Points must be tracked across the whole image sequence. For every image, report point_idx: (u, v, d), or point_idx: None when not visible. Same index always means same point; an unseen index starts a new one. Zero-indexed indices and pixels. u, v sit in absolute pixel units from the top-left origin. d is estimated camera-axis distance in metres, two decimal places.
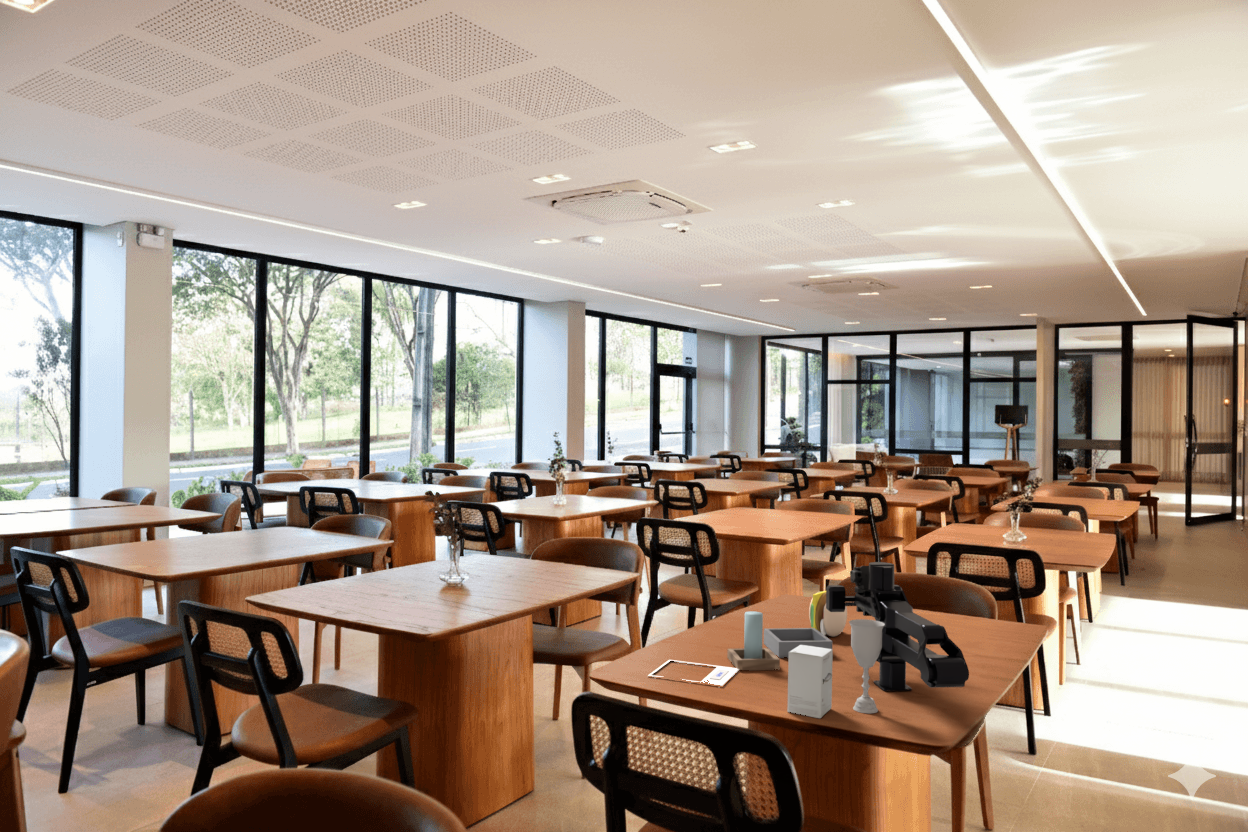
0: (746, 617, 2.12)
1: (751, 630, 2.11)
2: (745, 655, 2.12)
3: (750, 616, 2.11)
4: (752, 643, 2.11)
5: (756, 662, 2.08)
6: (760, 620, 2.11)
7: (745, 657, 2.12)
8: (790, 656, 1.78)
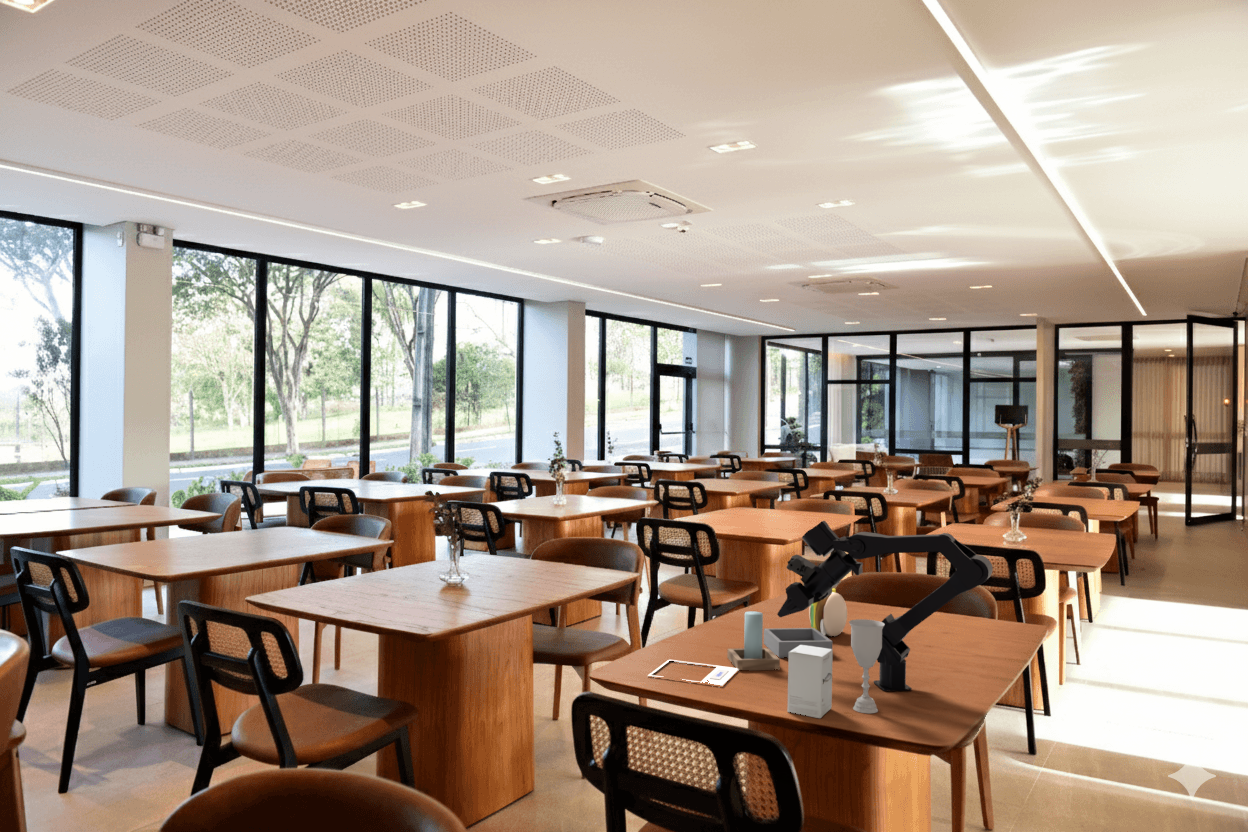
0: (746, 617, 2.12)
1: (751, 630, 2.11)
2: (745, 655, 2.12)
3: (750, 616, 2.11)
4: (752, 643, 2.11)
5: (756, 662, 2.08)
6: (760, 620, 2.11)
7: (745, 657, 2.12)
8: (790, 656, 1.78)
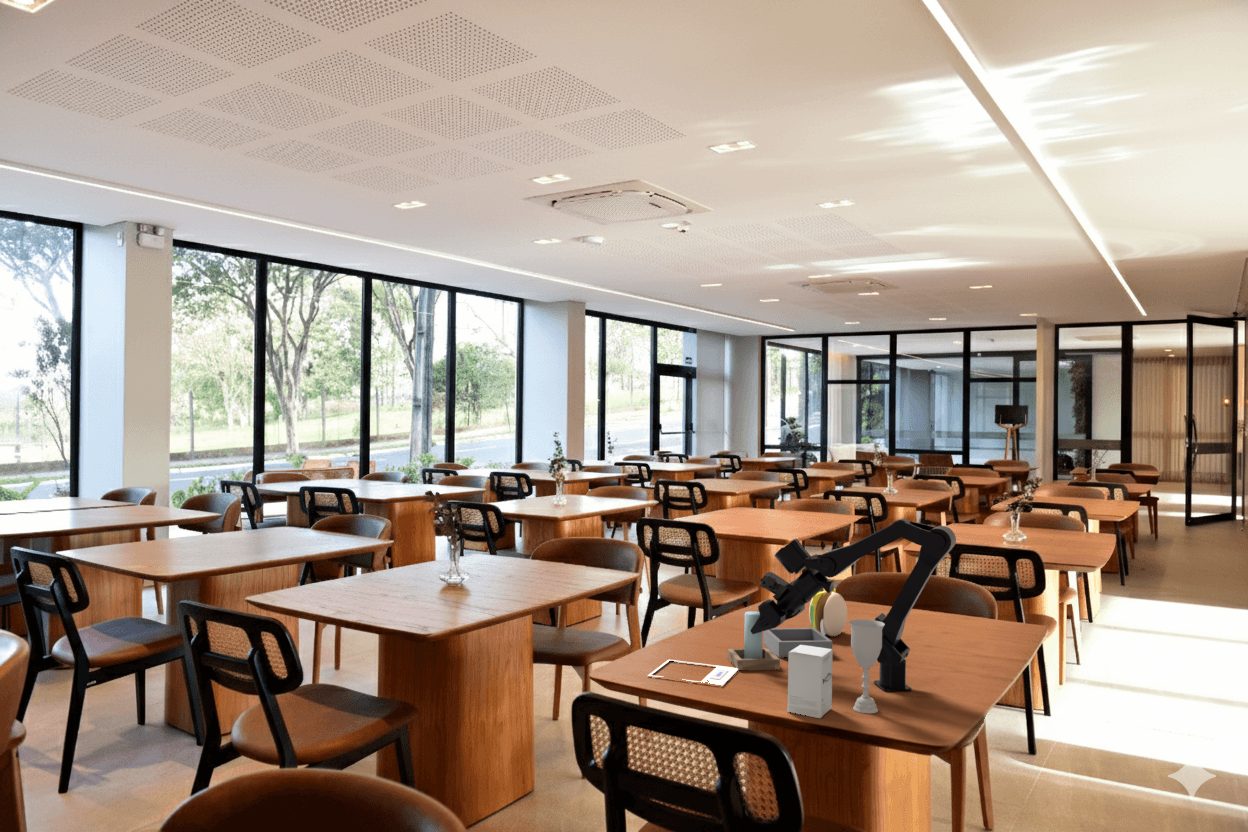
0: (746, 617, 2.12)
1: None
2: (745, 655, 2.12)
3: (750, 616, 2.11)
4: (752, 643, 2.11)
5: (756, 662, 2.08)
6: None
7: (745, 657, 2.12)
8: (790, 656, 1.78)
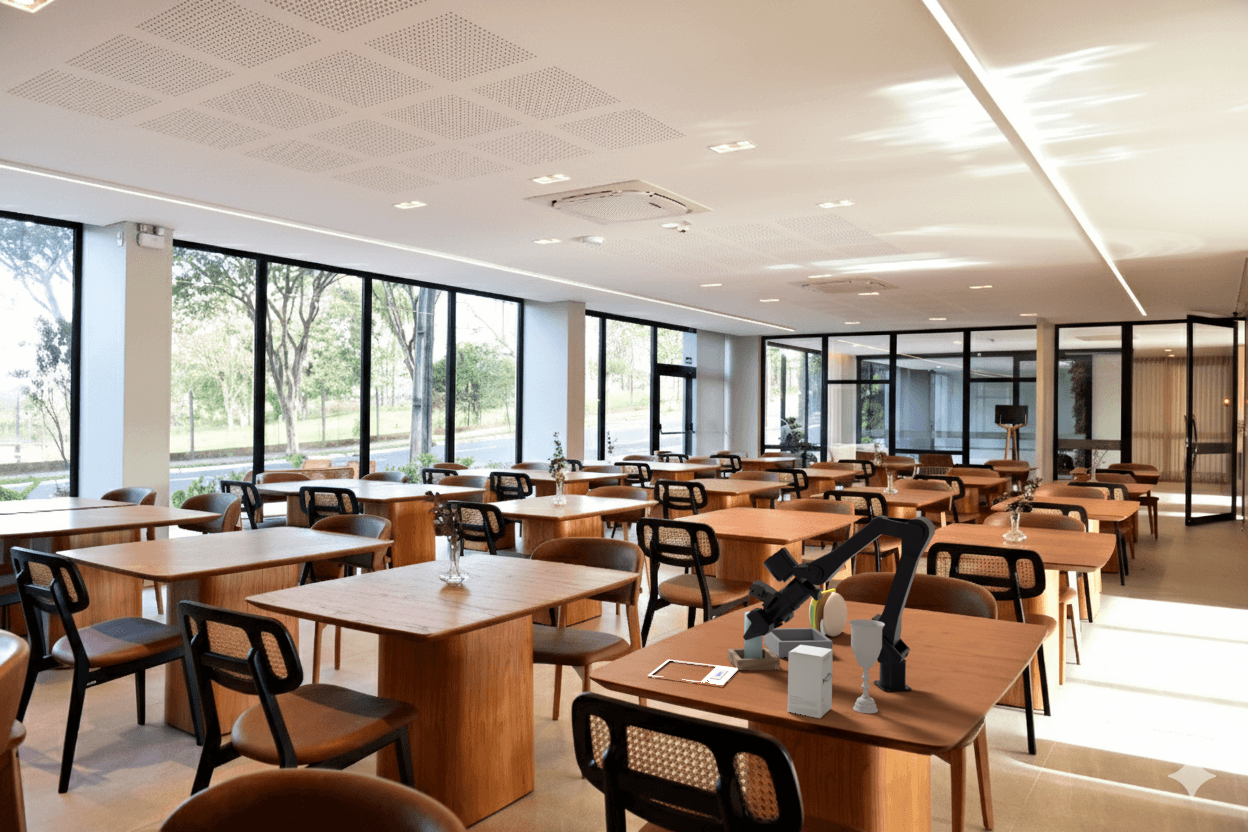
0: (746, 617, 2.12)
1: None
2: (745, 655, 2.12)
3: None
4: (752, 643, 2.11)
5: (756, 662, 2.08)
6: None
7: (745, 657, 2.12)
8: (790, 656, 1.78)
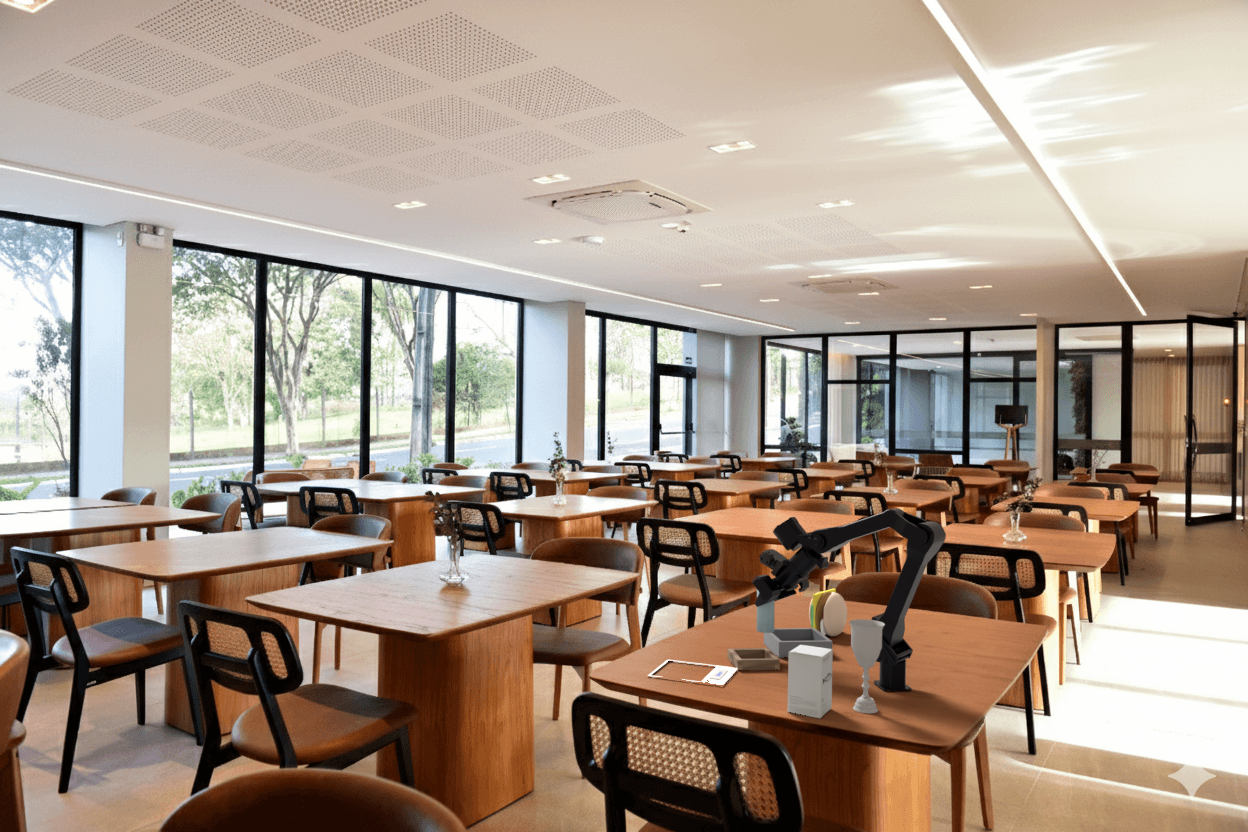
0: None
1: None
2: (757, 621, 2.18)
3: None
4: (762, 610, 2.17)
5: (756, 662, 2.08)
6: None
7: (757, 623, 2.18)
8: (790, 656, 1.78)
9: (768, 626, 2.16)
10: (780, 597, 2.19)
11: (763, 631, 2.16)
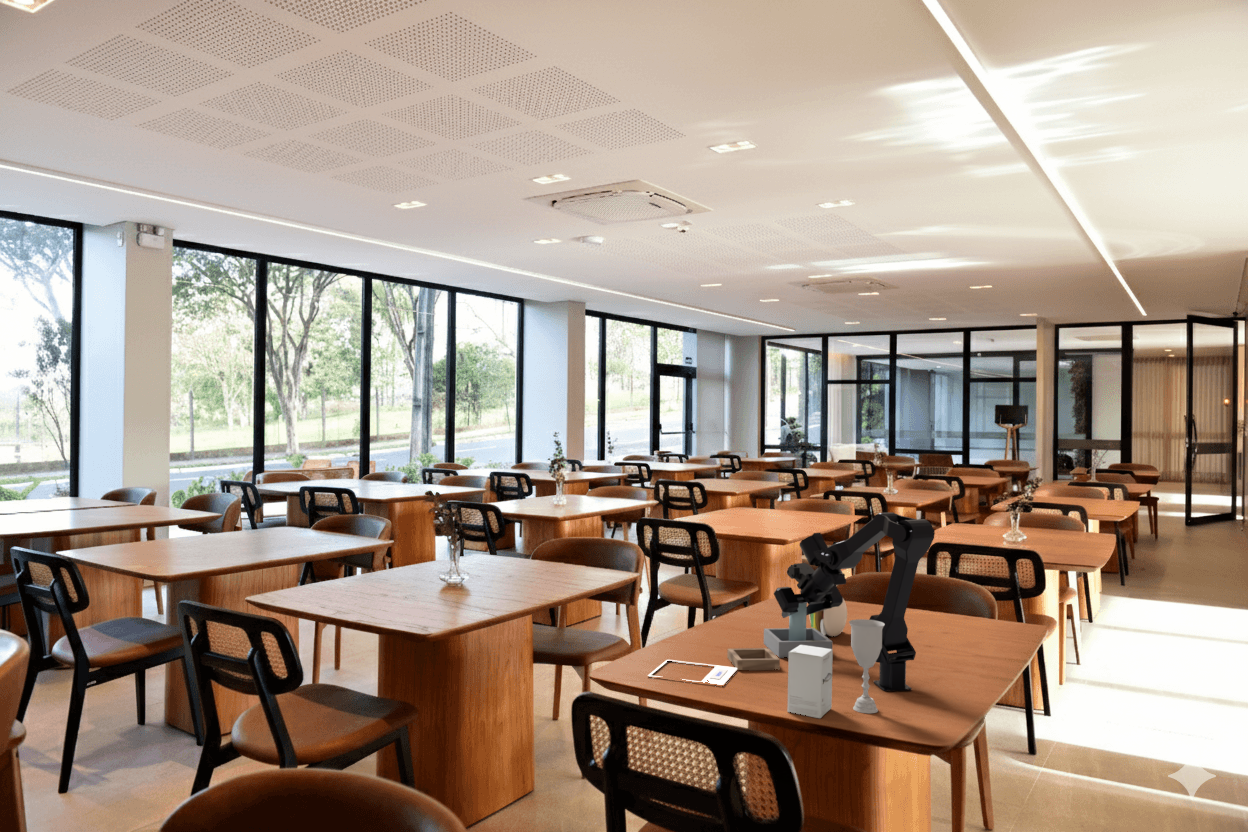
0: None
1: None
2: None
3: None
4: (792, 625, 2.25)
5: (756, 662, 2.08)
6: (801, 604, 2.25)
7: None
8: (790, 656, 1.78)
9: None
10: (816, 610, 2.26)
11: None
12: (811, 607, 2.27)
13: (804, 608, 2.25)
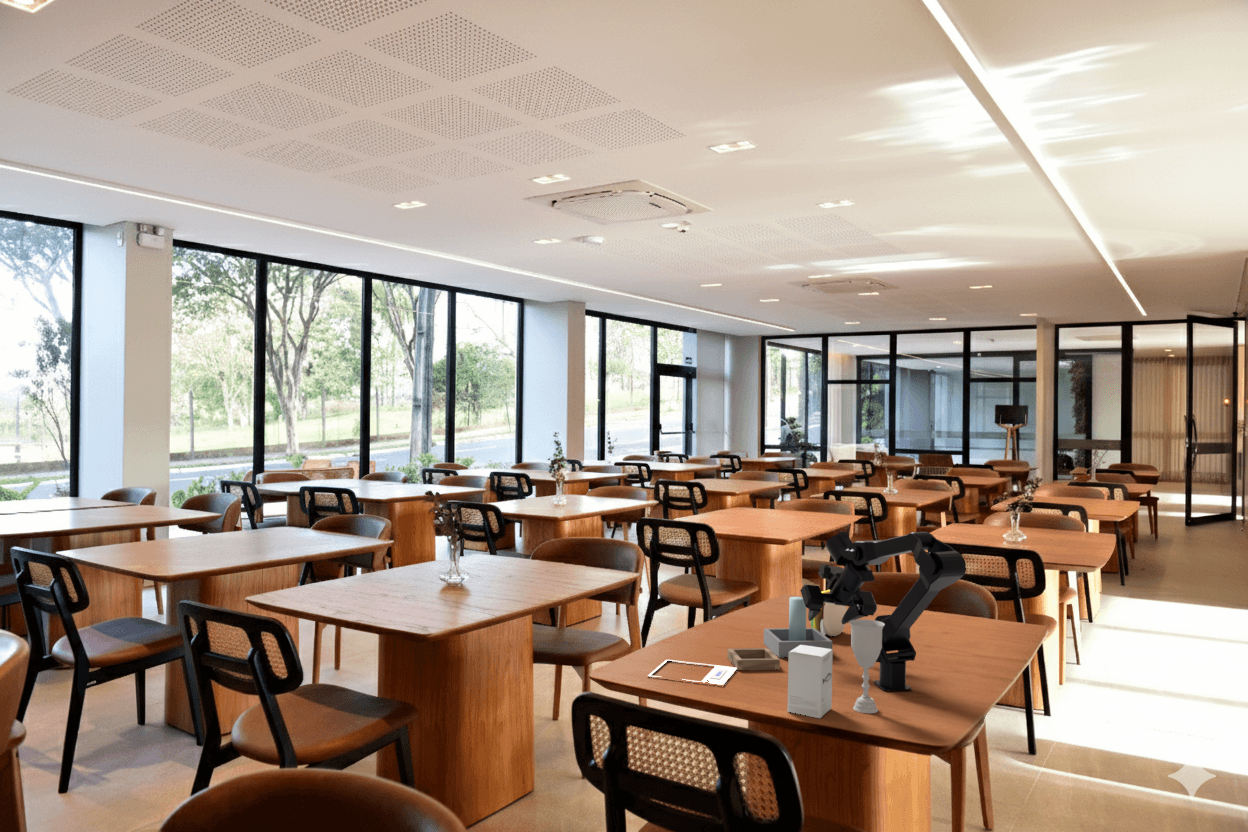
0: (789, 601, 2.27)
1: (791, 613, 2.25)
2: None
3: (791, 600, 2.25)
4: (792, 626, 2.25)
5: (756, 662, 2.08)
6: (800, 605, 2.24)
7: None
8: (790, 656, 1.78)
9: None
10: (851, 617, 2.17)
11: None
12: (847, 615, 2.18)
13: (804, 608, 2.25)
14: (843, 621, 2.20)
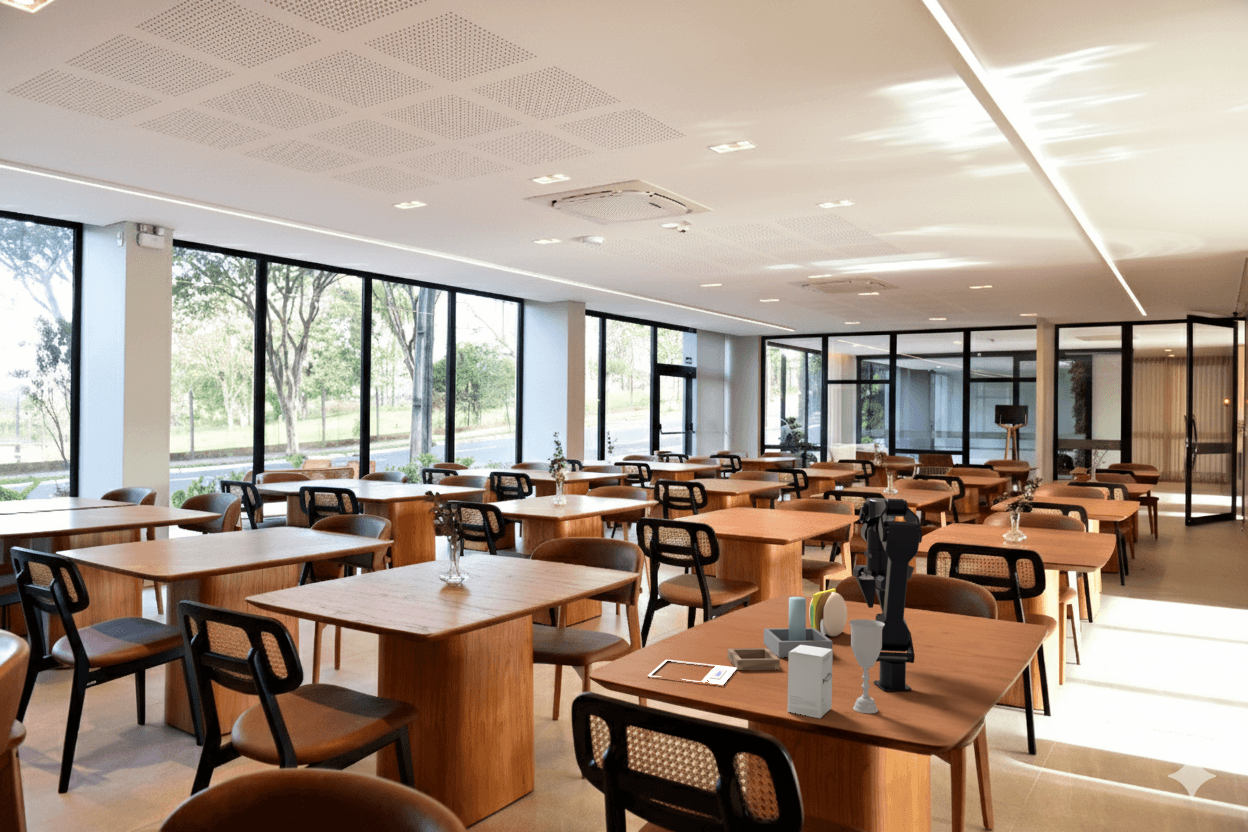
0: (789, 601, 2.27)
1: (791, 613, 2.25)
2: None
3: (790, 600, 2.25)
4: (792, 626, 2.25)
5: (756, 662, 2.08)
6: (800, 605, 2.24)
7: None
8: (790, 656, 1.78)
9: None
10: None
11: None
12: None
13: (803, 608, 2.25)
14: None
